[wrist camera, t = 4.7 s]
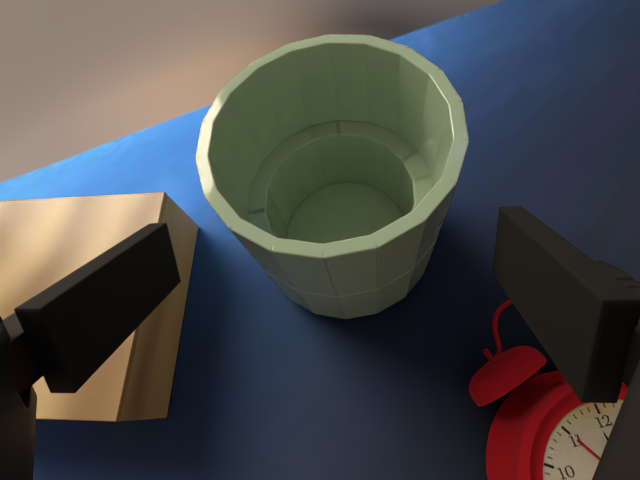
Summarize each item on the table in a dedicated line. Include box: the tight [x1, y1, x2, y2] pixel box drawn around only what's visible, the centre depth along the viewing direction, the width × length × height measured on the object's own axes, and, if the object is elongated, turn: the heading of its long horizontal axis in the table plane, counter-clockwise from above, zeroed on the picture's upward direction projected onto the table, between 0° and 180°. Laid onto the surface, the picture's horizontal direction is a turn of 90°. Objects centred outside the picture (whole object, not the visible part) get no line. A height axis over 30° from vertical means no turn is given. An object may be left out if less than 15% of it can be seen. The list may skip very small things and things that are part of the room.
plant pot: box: [195, 34, 469, 319], centre depth 21 cm, size 11×11×12 cm
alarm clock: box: [469, 299, 628, 480], centre depth 18 cm, size 10×6×15 cm
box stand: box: [0, 192, 198, 422], centre depth 24 cm, size 13×13×5 cm
